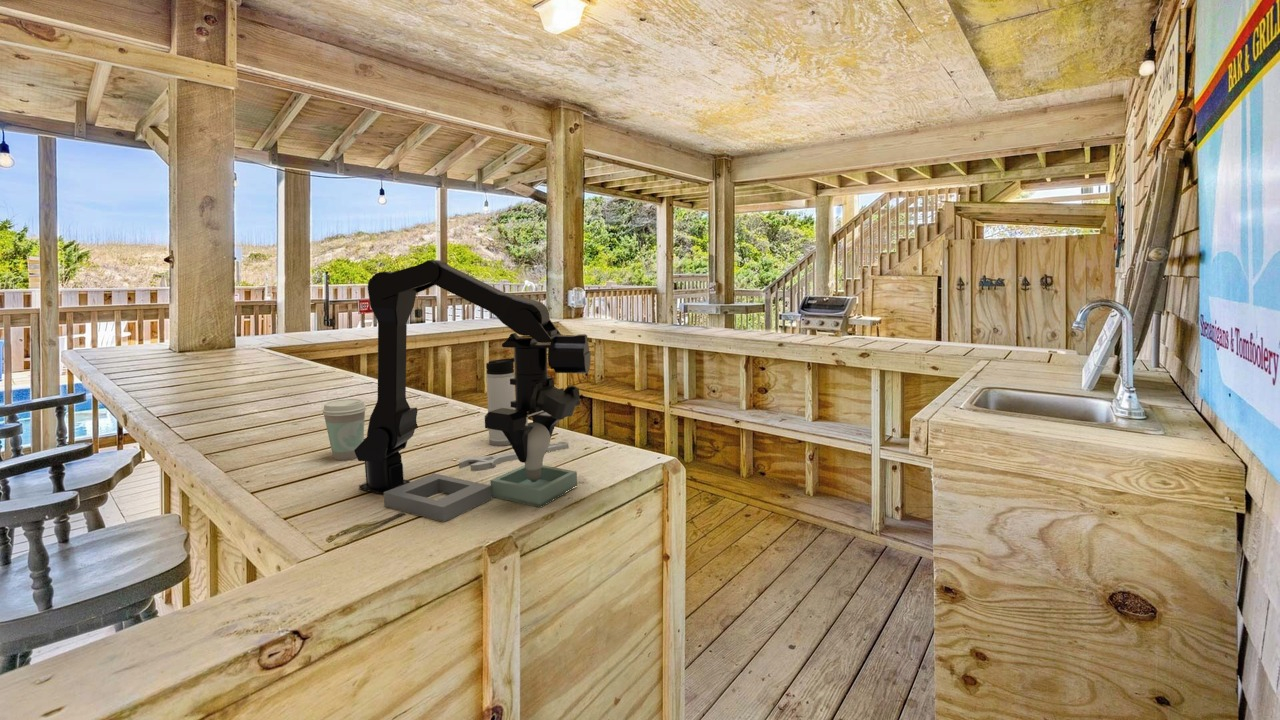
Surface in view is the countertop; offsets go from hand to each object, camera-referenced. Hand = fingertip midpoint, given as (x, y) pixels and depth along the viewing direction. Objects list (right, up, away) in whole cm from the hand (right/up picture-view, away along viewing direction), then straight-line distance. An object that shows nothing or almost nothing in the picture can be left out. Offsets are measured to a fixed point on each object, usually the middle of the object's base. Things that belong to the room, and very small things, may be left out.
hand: (533, 457), depth 107 cm
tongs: (-23, -10, -14) cm, 29 cm away
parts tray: (0, -6, +1) cm, 6 cm away
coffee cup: (-44, -4, +22) cm, 50 cm away
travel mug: (-13, -2, +33) cm, 35 cm away
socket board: (-16, -7, -4) cm, 18 cm away
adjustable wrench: (-7, -4, +21) cm, 22 cm away
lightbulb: (0, -5, +1) cm, 5 cm away
